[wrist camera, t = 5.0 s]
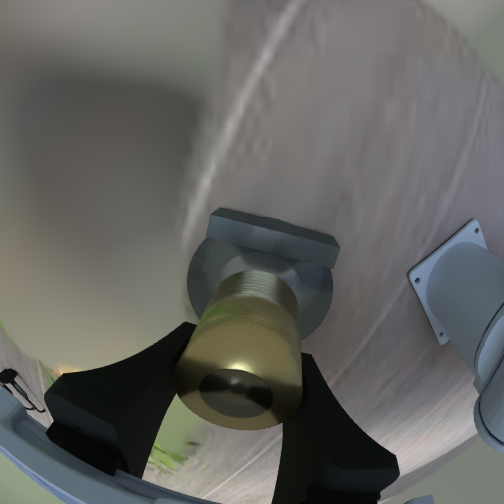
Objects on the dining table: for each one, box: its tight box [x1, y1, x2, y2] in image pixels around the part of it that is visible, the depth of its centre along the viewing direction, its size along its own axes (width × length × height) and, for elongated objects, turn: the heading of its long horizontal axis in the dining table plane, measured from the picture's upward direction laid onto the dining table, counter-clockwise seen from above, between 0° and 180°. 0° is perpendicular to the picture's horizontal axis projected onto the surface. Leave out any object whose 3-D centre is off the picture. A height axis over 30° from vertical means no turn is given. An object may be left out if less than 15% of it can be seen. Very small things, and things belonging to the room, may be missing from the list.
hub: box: [173, 270, 303, 430], centre depth 12 cm, size 5×5×6 cm
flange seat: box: [187, 208, 340, 341], centre depth 20 cm, size 11×11×3 cm
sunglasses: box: [0, 368, 45, 413], centre depth 34 cm, size 10×12×5 cm
